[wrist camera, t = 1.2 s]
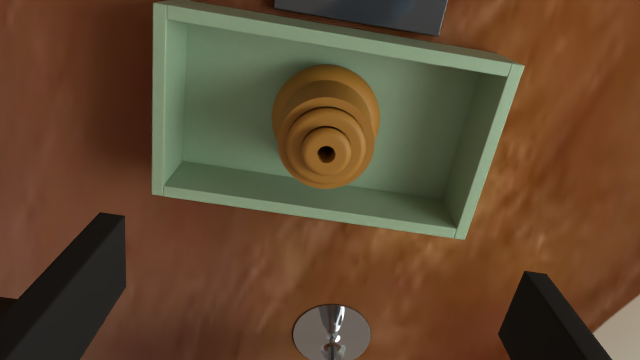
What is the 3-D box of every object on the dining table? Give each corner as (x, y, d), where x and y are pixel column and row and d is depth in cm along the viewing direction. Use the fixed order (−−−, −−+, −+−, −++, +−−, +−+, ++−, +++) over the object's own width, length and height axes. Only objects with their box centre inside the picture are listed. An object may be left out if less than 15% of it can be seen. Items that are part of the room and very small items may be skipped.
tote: (496, 53, 31) (525, 65, 26) (447, 207, 36) (464, 240, 31) (177, -2, 29) (152, 2, 25) (173, 167, 34) (150, 194, 30)
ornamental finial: (396, 131, 33) (309, 179, 34) (344, 39, 30) (253, 97, 32) (417, 175, 25) (305, 234, 27) (350, 59, 23) (231, 133, 24)
